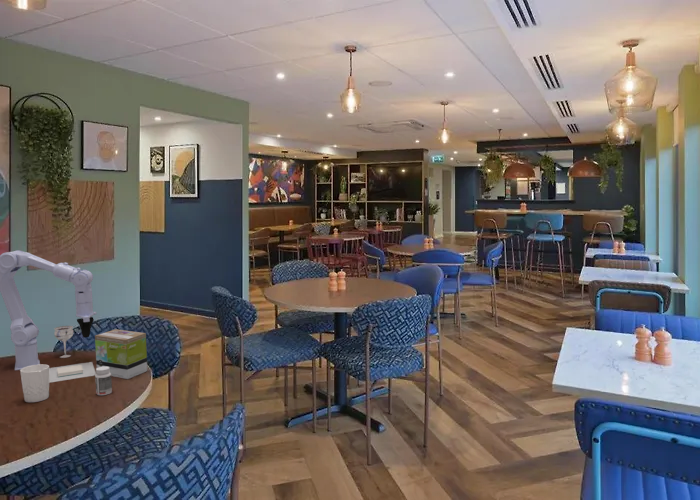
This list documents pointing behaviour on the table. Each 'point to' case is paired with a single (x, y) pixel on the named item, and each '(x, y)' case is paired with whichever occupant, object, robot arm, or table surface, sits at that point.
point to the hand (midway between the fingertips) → (86, 336)
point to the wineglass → (64, 336)
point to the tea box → (122, 352)
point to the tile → (70, 370)
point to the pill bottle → (103, 381)
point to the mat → (87, 371)
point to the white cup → (35, 382)
